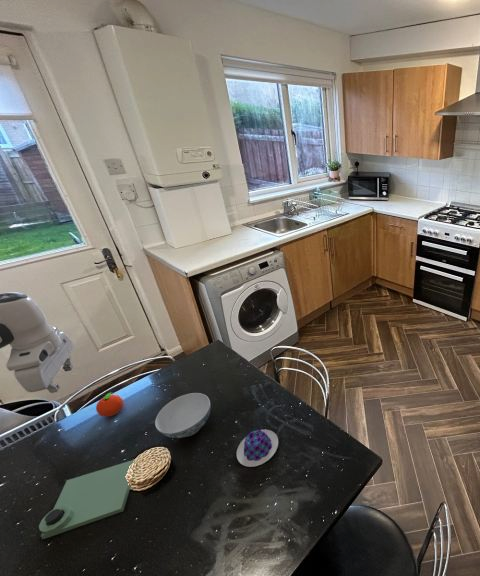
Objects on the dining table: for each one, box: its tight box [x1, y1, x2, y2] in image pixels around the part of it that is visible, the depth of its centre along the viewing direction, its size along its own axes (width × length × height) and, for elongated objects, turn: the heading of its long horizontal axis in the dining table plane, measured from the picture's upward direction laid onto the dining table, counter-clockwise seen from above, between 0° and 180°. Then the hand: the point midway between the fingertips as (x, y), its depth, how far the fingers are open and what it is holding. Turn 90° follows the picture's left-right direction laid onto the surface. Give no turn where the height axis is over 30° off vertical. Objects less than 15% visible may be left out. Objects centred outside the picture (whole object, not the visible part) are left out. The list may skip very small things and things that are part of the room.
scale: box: [38, 459, 135, 540], centre depth 82 cm, size 16×14×3 cm
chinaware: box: [154, 392, 211, 439], centre depth 99 cm, size 15×15×8 cm
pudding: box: [236, 429, 279, 468], centre depth 93 cm, size 12×12×5 cm
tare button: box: [45, 509, 64, 525], centre depth 75 cm, size 3×3×2 cm
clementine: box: [95, 392, 124, 418], centre depth 104 cm, size 8×7×7 cm
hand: (62, 379), depth 94 cm, fingers open, 8 cm apart
